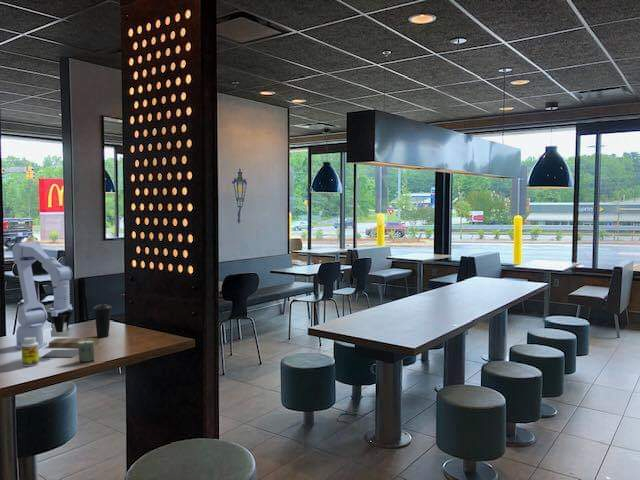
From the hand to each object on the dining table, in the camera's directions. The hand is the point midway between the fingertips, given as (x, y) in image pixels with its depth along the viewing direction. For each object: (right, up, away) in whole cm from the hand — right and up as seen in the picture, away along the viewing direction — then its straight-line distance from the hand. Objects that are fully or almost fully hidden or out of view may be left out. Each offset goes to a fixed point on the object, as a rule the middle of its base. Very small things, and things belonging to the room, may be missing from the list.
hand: (62, 330), depth 215 cm
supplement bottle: (-5, -11, -14) cm, 18 cm away
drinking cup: (+4, -8, +30) cm, 31 cm away
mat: (0, -10, +1) cm, 10 cm away
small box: (+13, -11, -9) cm, 19 cm away
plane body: (-2, -9, +14) cm, 17 cm away
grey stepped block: (0, -2, 0) cm, 2 cm away
